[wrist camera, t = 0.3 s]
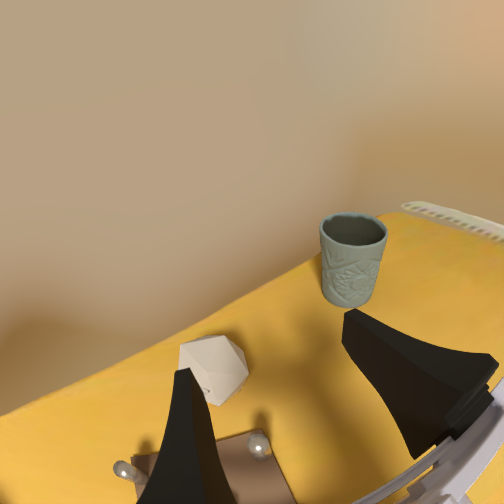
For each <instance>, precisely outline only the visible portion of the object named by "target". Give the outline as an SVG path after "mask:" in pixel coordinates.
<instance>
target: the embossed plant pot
mask: <svg viewBox="0 0 504 504" xmlns="http://www.w3.org/2000/svg"><path fill="white" fill-rule="evenodd" d="M319 228H320V229H319V230H320V243H321V257H322V263H321V265H322V292H323V295H324V297H325V298H326V299H327V300H328V301H329V302H330V303H331V304H333V305H335V306H338V307H342V308H355V307H359V306H362V305H363V304H365V303H366V302H368V300H369V299H370V297H371V295H372V292H373V289H374V286H375V282H376V278H377V274H378V271H379V264H380V261H381V259H382V255H383V251H384V249H385V245H386V241H387V237H388V230H387V227H386V226H385V225H384V224H383V223H382V222H381V221H380V220H378V219H377V218H375V217H373V216H370V215H368V214H363V213H357V212H341V213H336V214H332V215H329V216H327V217H326V218H324V219H323V220H322V222H321V223H320V227H319Z"/></svg>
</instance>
